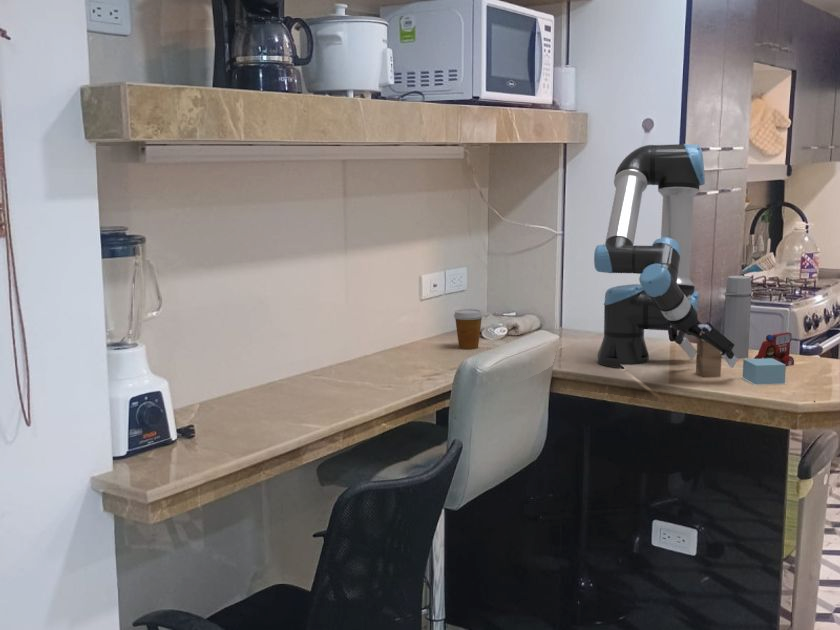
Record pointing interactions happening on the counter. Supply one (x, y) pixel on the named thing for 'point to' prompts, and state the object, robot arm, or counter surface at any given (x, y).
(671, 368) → the counter surface
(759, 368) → the teal block
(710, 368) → the walnut block
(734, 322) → the water bottle
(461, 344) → the disposable coffee cup
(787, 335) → the toy fire truck
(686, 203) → the robot arm
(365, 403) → the counter surface
